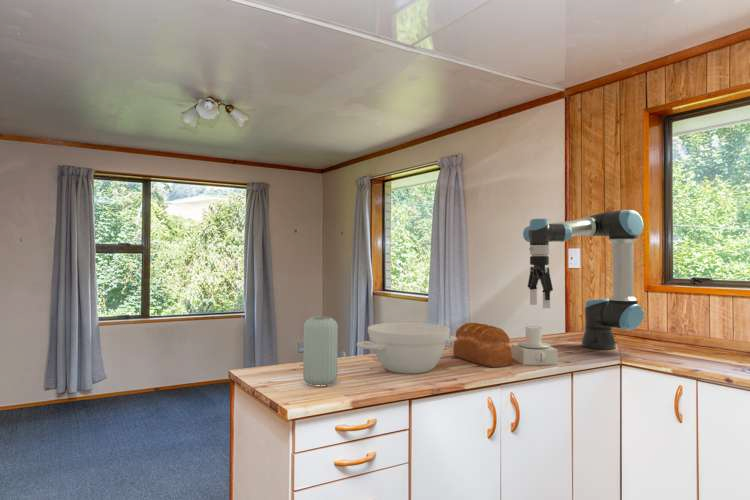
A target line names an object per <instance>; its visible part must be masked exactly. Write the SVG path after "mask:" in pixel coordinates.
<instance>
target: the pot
mask: <svg viewBox="0 0 750 500" xmlns="http://www.w3.org/2000/svg"><path fill="white" fill-rule="evenodd" d="M367 334H368V336H369V339H370V340H371V341H369V340H367V341H365V340H364V341H359V342H358V341H357V343H356V347H357V348H359V349H365V350H374V354H375V355H376V358H377V359H378V362H379V363H380V364H381V366H383V368H385V369H386V370H387V371H389V372H390V373H394V372H395V373H396V374H401V375H403V374H405V375H417V374H425V373H429V372H431V370H433V369H434V368H435V367H436V366H437V365H438V363H439V361H440V359H441V358H442V355H443V353H444V351H445V347H446V344H451V343H452V342H454V341H456V340H457V337H456V335H455V336H454V335H451V328H450V327H449V326H446V325H442V324H437V323H428V322H427V323H426V322H413V321H412V322H411V321H410V322H397V321H396V322H383V323H376V324H371V325H368V326H367Z"/></svg>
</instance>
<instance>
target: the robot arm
mask: <svg viewBox="0 0 750 500" xmlns="http://www.w3.org/2000/svg"><path fill="white" fill-rule="evenodd" d="M643 230H644V221H643V218H642V216H641V214H639V212H637V211H635V210H632V209H623V210H613V211H605V212H604V211H603V212H599V213H595V214H592V215H586V216H584V217H582V218H581V219H573V220H567V221H566V220H565V221H560V222H559V221H558V222H551V223H549V219H548V218H532V219H531V220H530V222H529V225H528V226H526V227H525V228H524V229H523V233H522V235H523V237H522V238H524V241H526V242H528V243H529V248H528V250H529V255H530V256H529V265H531V266H530V269H529V276H528V282H527V288H528V289H529V305H530V306H531V305H532V306H533V305H534V306H535V305H537V304H538V299H537V298H538V297H537V296H538V291H537V290H538V286H537V285H538V283H539V280H540V284H541V286H542V289H543V290H542V309H551V292H552V291H553V290H554V288H553V284H552V278H551V275H550V268H549V267H546V266H549V264H550V257H549V255H550V245H549V243H550V242H556V243H557V242H560V243H561V242H562V243H563V242H568V241H569V240H571V238H574V237H579V236H585V237H608V240H609V242H611V243H612V295H611V296H610V298H598V299H597V298H594V299H587V300H586V301H585V308H584V312H585V313H584V315H585V318H584V320H585V322H584V323H585V328H584V329H585V330H584V333H583V336H582V338H581V346H582V347H584V348H587V349H594V350H615V349H616V348H617V343H616V340H615V337H614V334H613V329H612V328H615V329H621V330H630V331H633V330H636V329H637V328H639V327H640V325H641V324H642V323H643V321H644V318H645V317H644V316H645V315H644V309H643V307H642V306H641V305H639V304H638V299H637V298H636V297H635V295H634V291H635V290H634V287H635V286H634V283H635V282H634V281H635V280H634V269H635V268H634V267H635V265H634V263H635V262H634V261H635V260H634V259H635V258H634V254H635V252H634V250H635V249H634V247H635V245H634V244H635V243H636V241H638V236H639V235H640V234H641V233H642V232H643Z"/></svg>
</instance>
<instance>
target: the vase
mask: <svg viewBox="0 0 750 500" xmlns="http://www.w3.org/2000/svg"><path fill="white" fill-rule="evenodd" d="M338 327H339V326H338V323H337V321H336V320H335V319H333V318H332V317H330V316H312V317H309V318H308V319H307V320H306V321H304V324H303V341H302V343H303V347H302V348H303V350H302V351H303V353H302V354H303V356H302V357H303V359H302V360H303V365H302V366H303V368H302V369H303V370H302V375H303V376H302V377H303V380H304V381H305V382H306V383H307V385H309V384H311V385H320V386H321V385H329V384H331V385H332V384H334V382H336V380H337V378H338V354H339V353H338V348H339V347H338V345H339V343H338V342H339V341H338V339H339V338H338V336H339V334H338V333H339V331H338ZM311 385H310V386H311ZM329 386H330V385H329Z"/></svg>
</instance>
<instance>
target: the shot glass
mask: <svg viewBox="0 0 750 500" xmlns="http://www.w3.org/2000/svg"><path fill="white" fill-rule="evenodd" d="M524 328H525V330H524V331H525V337H526V338H525V339H526V340H525V341H527V344H528V345H541V342H542V338H543V327H542V326H541V327H540V326H529V325H528V326H525V327H524Z"/></svg>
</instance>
